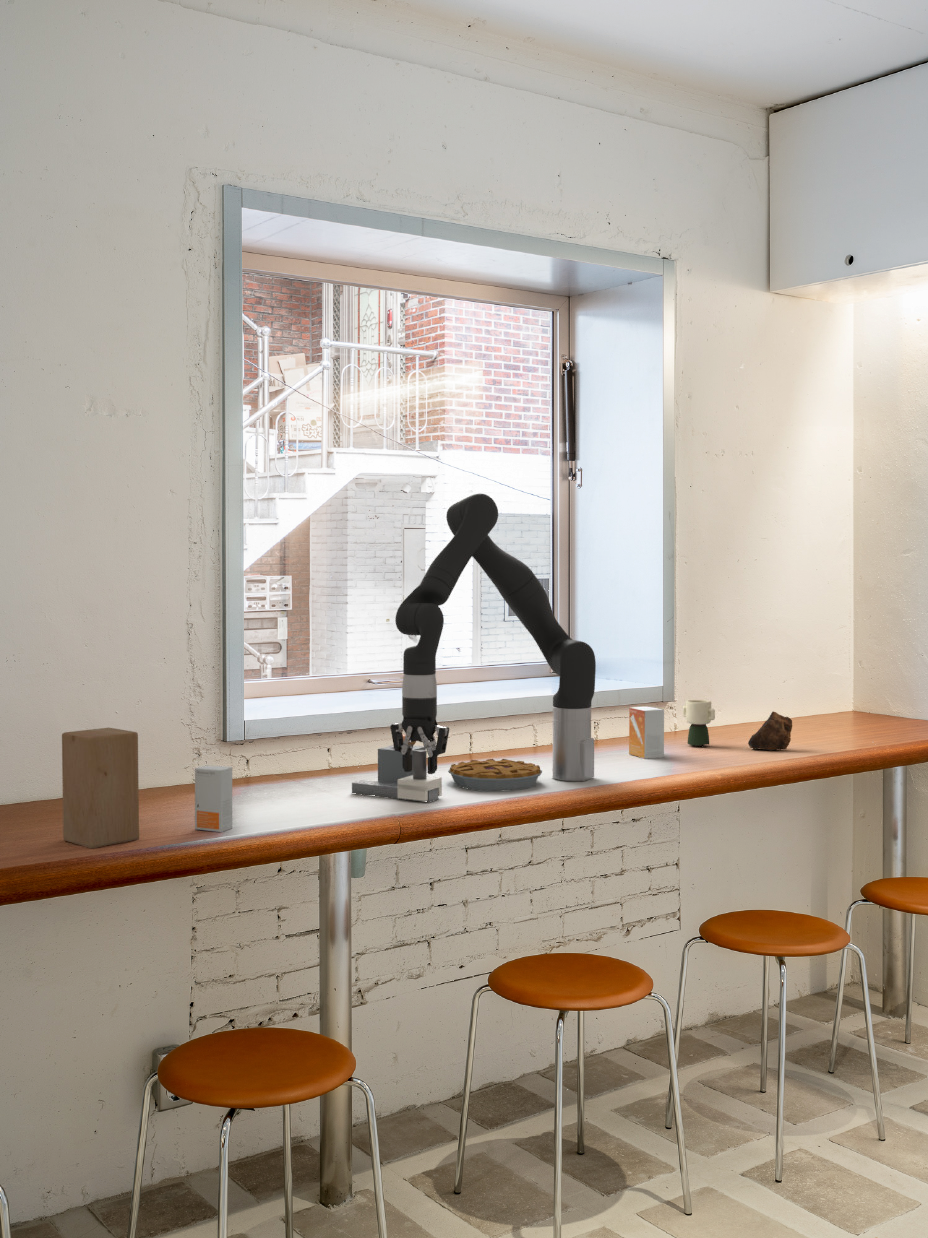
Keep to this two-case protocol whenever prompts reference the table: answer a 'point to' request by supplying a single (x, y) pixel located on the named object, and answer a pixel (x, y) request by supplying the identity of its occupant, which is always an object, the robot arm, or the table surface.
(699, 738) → the character mug
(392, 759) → the grey cube-like block
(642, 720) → the small box
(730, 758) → the table surface
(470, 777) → the pie
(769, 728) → the decorative rock
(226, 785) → the skincare box
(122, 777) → the wooden block
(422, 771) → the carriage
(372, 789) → the rail
